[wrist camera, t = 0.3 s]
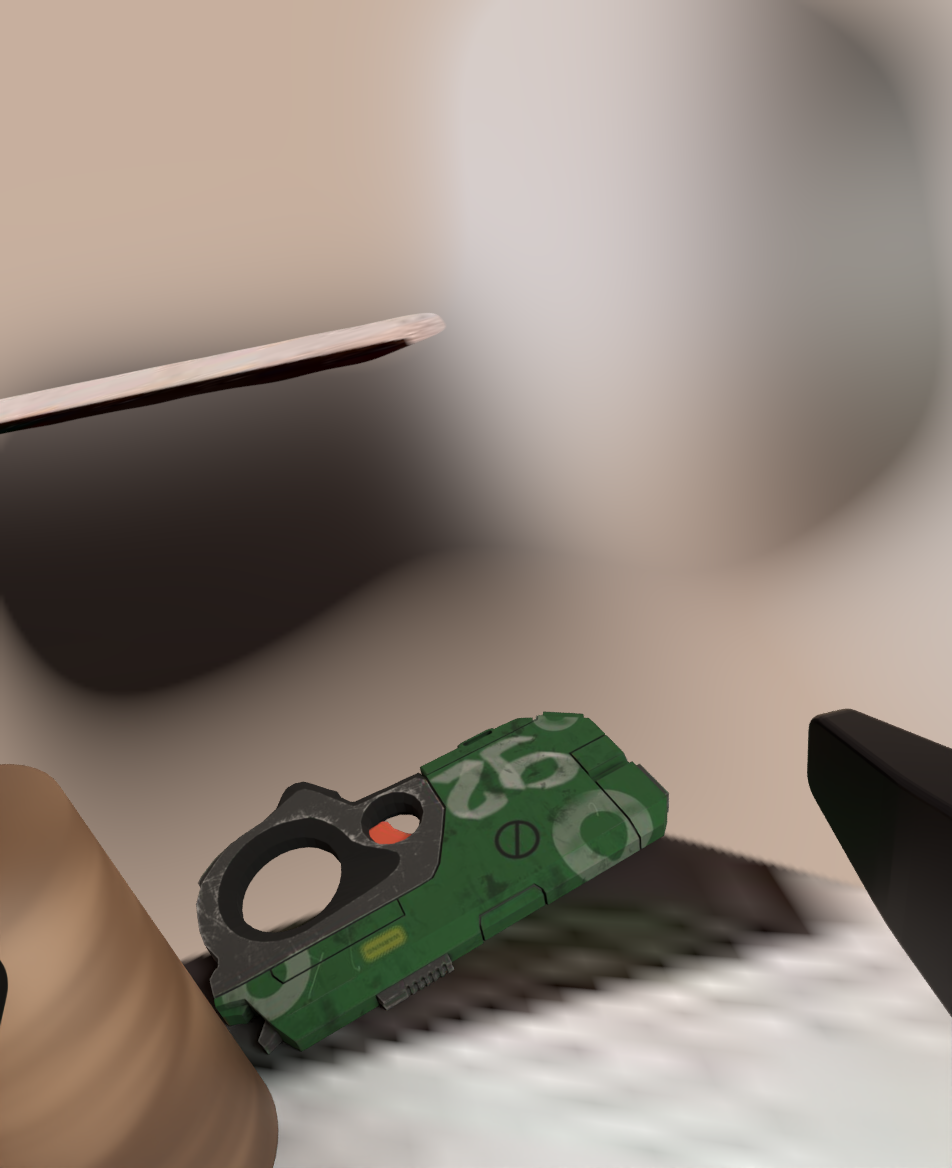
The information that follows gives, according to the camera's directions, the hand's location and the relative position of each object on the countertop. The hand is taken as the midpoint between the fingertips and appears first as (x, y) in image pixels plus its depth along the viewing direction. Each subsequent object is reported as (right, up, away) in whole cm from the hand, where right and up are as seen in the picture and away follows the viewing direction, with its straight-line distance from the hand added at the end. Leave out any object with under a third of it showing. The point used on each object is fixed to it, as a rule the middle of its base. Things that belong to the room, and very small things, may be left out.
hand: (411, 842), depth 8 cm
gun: (-1, -7, +20) cm, 22 cm away
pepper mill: (-7, -13, +13) cm, 19 cm away
